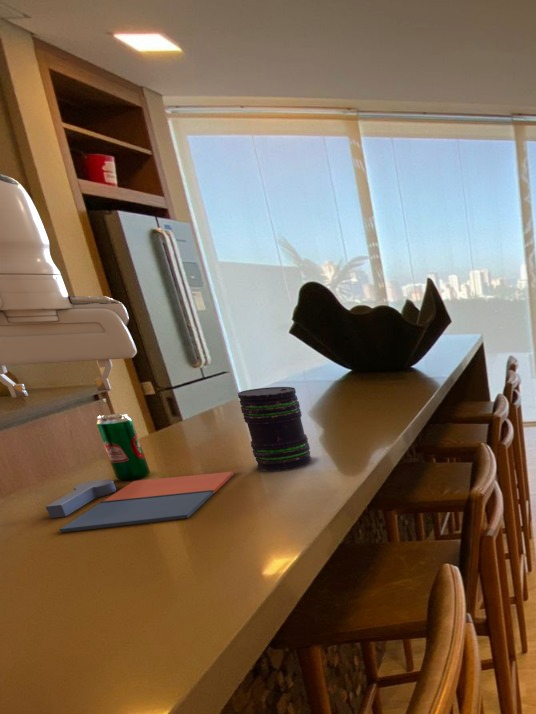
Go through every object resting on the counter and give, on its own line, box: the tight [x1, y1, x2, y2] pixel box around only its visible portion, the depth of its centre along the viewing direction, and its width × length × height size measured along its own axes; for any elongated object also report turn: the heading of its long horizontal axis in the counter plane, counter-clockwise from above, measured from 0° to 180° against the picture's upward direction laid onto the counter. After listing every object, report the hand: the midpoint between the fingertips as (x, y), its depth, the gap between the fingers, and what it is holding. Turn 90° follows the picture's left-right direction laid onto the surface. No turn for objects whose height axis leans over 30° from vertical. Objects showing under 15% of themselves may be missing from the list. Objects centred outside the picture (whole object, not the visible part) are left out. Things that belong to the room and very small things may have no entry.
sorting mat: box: [59, 471, 235, 534], centre depth 97 cm, size 16×24×1 cm, turn 19°
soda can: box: [95, 412, 151, 482], centre depth 106 cm, size 5×5×12 cm
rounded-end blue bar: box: [45, 478, 117, 519], centre depth 96 cm, size 15×5×2 cm, turn 19°
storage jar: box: [237, 386, 313, 472], centre depth 113 cm, size 10×10×15 cm
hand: (64, 393), depth 86 cm, fingers open, 8 cm apart
